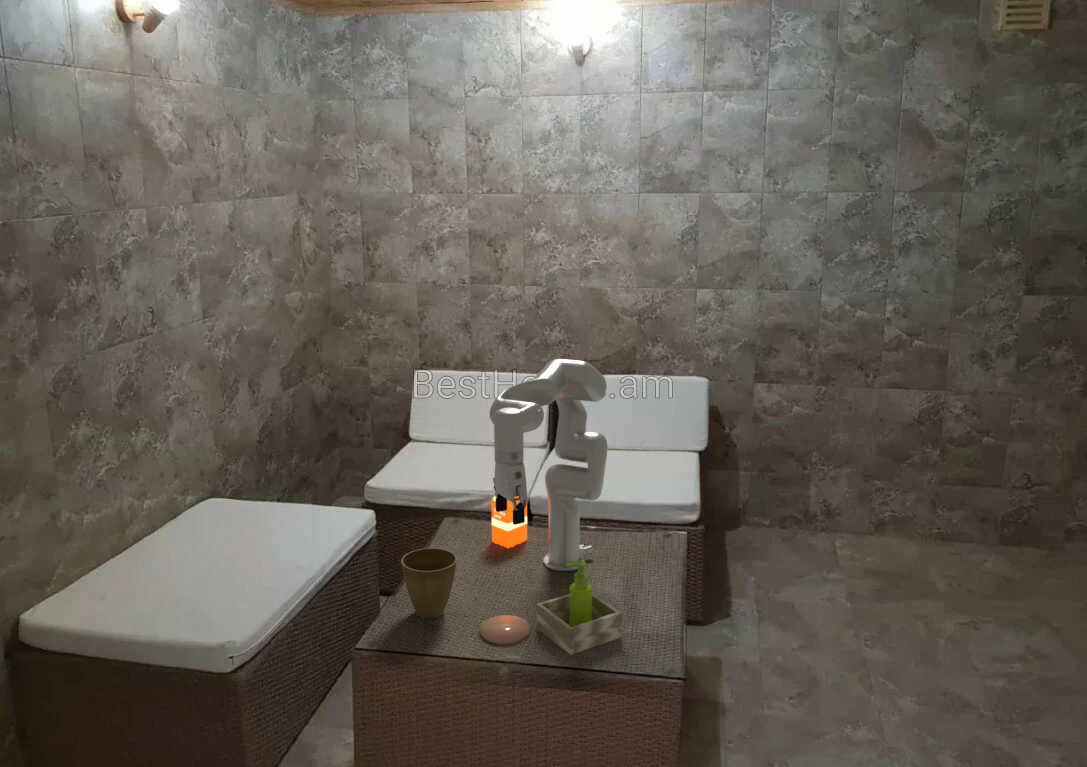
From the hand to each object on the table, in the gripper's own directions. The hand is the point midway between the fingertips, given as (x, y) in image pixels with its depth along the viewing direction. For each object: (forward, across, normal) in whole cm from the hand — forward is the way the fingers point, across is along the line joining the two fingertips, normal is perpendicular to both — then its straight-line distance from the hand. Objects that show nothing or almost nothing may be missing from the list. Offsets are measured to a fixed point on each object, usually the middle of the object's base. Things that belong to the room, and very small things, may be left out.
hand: (510, 517), depth 238 cm
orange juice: (+30, +45, -23) cm, 59 cm away
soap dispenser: (+30, -16, -12) cm, 36 cm away
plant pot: (+30, +14, +18) cm, 37 cm away
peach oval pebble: (+30, -5, +5) cm, 30 cm away
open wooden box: (+30, -16, -12) cm, 35 cm away
